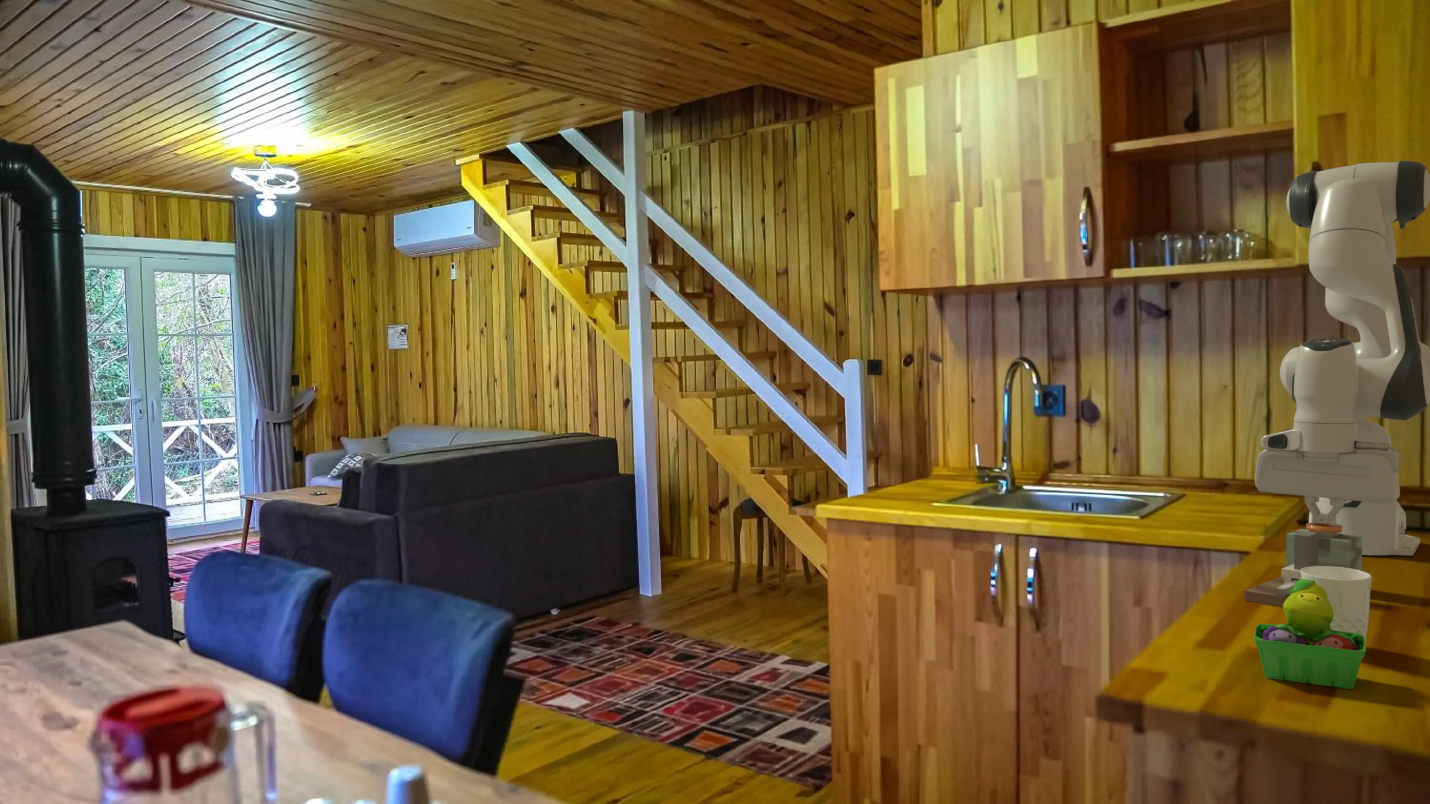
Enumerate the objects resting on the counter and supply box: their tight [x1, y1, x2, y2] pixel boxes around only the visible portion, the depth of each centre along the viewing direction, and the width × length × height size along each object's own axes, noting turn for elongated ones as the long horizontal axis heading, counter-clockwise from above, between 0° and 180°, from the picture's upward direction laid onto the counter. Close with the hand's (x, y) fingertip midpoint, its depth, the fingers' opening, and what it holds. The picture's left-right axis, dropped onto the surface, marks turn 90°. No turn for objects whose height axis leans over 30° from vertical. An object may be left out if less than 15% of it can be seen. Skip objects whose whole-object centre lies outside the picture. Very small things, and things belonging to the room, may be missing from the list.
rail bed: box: [1244, 528, 1363, 607], centre depth 157 cm, size 20×10×8 cm, turn 129°
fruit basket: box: [1253, 579, 1367, 690], centre depth 121 cm, size 11×9×11 cm
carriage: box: [1280, 531, 1319, 584], centre depth 157 cm, size 6×5×8 cm
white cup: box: [1300, 566, 1372, 643], centre depth 131 cm, size 8×8×10 cm
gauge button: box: [1305, 522, 1342, 538], centre depth 162 cm, size 5×5×4 cm
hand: (1324, 525), depth 161 cm, fingers closed, pressing on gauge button
